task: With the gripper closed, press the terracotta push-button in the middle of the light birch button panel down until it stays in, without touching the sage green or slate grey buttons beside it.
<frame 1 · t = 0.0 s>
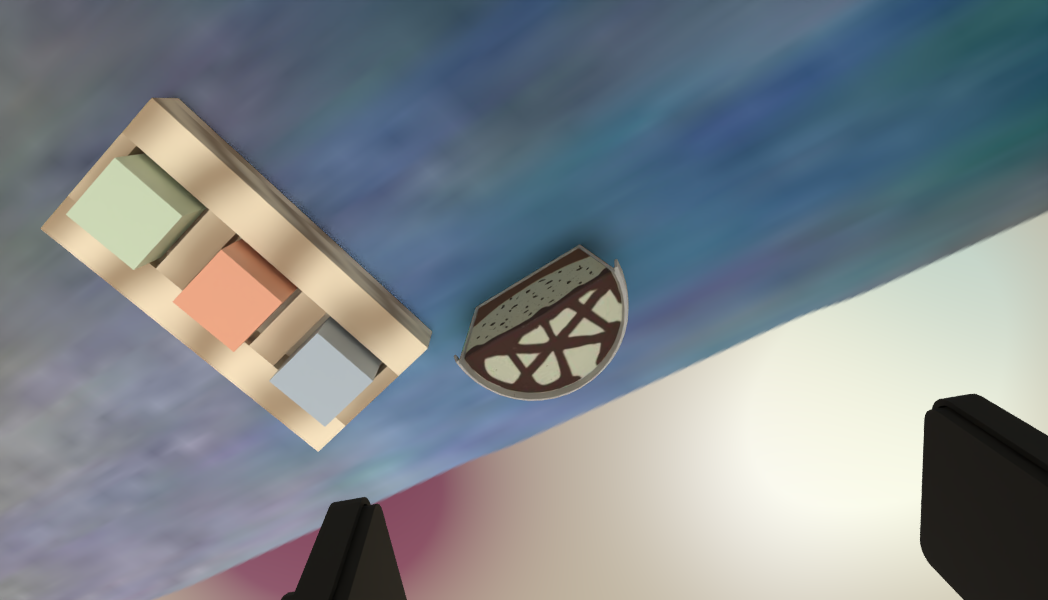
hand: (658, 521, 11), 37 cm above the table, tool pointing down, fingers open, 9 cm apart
terracotta button: (237, 294, 43), point 4 cm above the table, slide at 0.0 cm
sage button: (139, 210, 41), point 4 cm above the table, slide at 0.0 cm
button panel: (260, 277, 47), on the table
slate button: (327, 370, 45), point 4 cm above the table, slide at 0.0 cm
food container: (547, 307, 49), on the table
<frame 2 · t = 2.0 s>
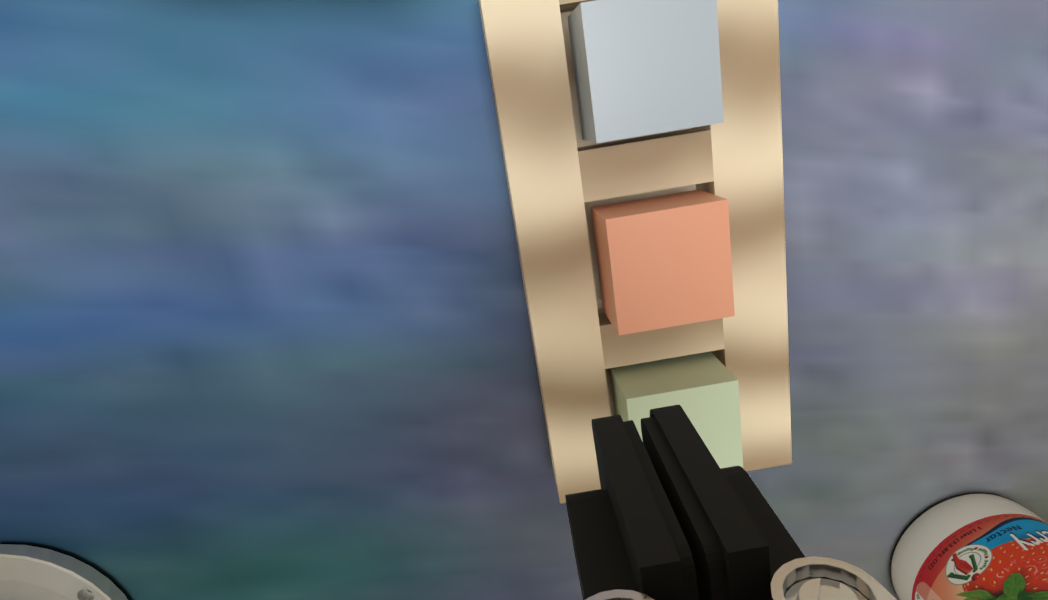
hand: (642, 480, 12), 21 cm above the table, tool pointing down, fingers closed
terracotta button: (660, 259, 27), point 4 cm above the table, slide at 0.0 cm
sage button: (675, 421, 30), point 4 cm above the table, slide at 0.0 cm
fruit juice: (956, 552, 39), on the table
button panel: (636, 240, 32), on the table
slate button: (642, 68, 25), point 4 cm above the table, slide at 0.0 cm
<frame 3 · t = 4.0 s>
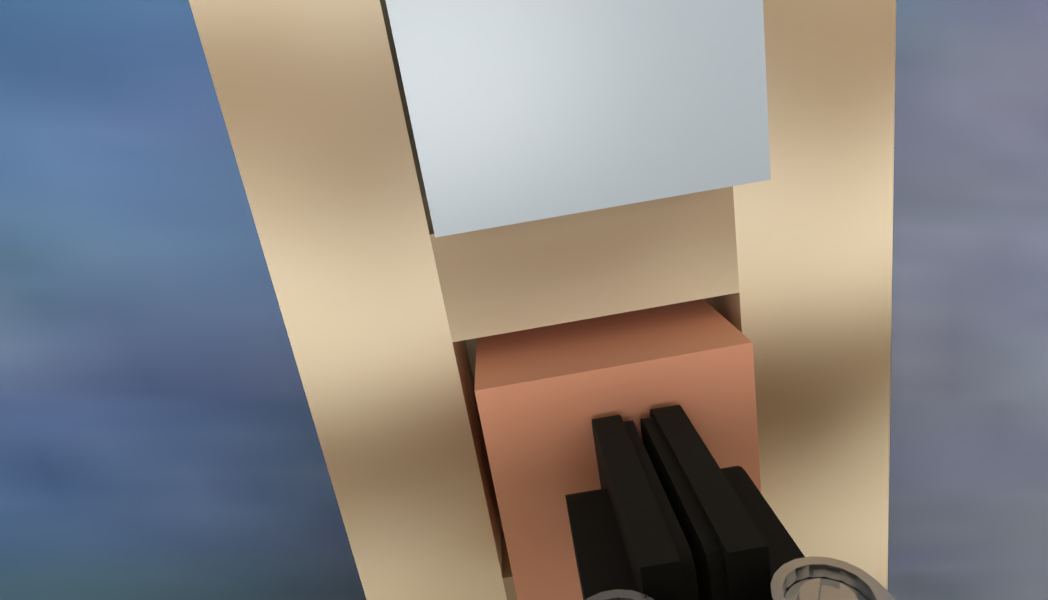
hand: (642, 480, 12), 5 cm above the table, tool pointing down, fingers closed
terracotta button: (611, 440, 13), point 3 cm above the table, slide at 1.0 cm, touching gripper
button panel: (587, 377, 17), on the table
slate button: (564, 39, 10), point 4 cm above the table, slide at 0.0 cm
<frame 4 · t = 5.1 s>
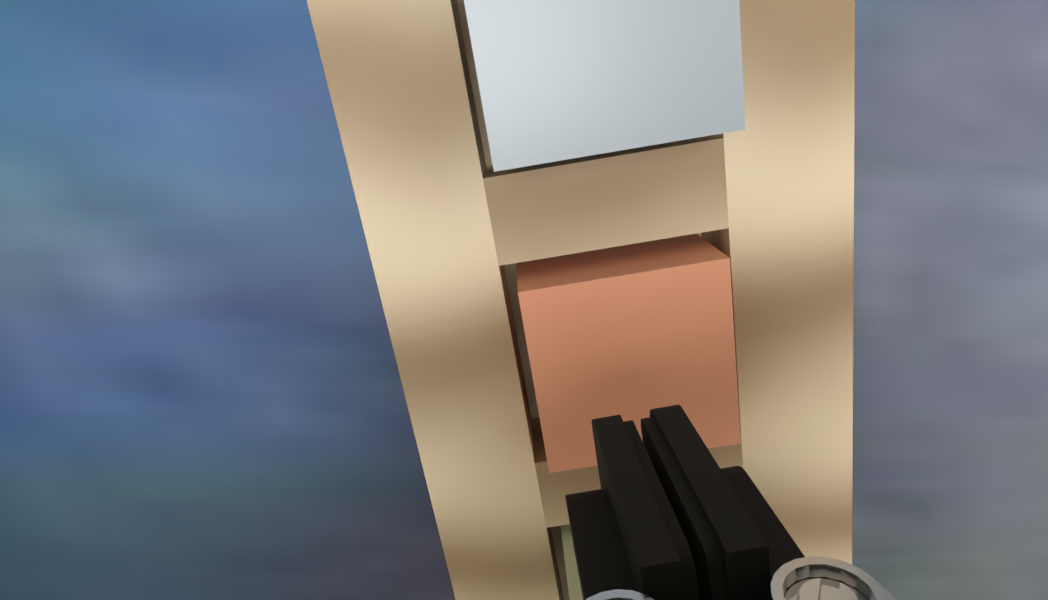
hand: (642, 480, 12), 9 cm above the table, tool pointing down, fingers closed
terracotta button: (622, 344, 17), point 3 cm above the table, slide at 1.4 cm
button panel: (606, 309, 20), on the table
slate button: (591, 23, 13), point 4 cm above the table, slide at 0.0 cm
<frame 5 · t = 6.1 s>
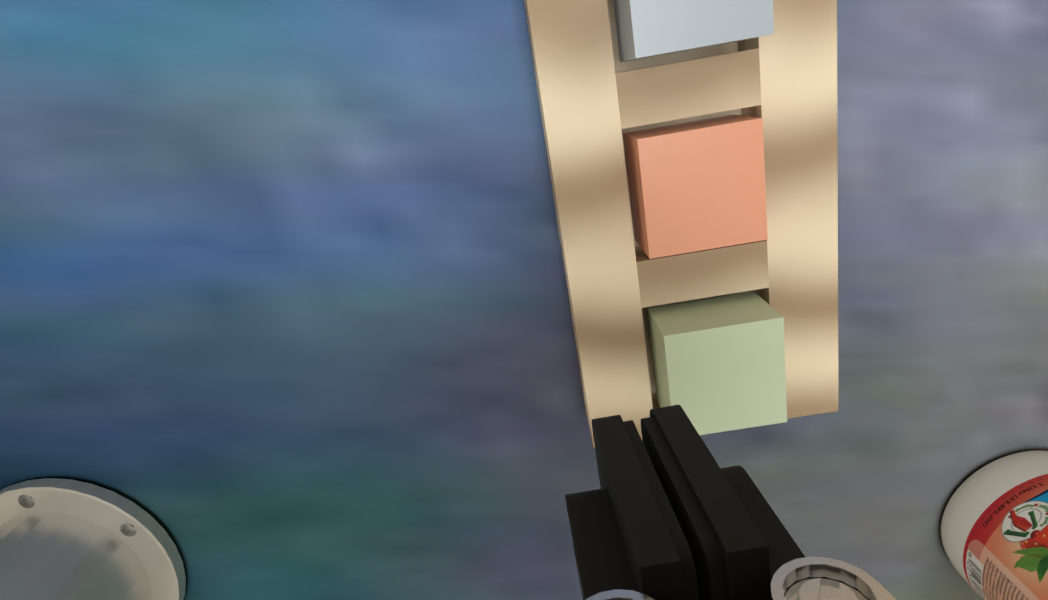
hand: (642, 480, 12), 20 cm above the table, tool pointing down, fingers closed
terracotta button: (692, 184, 27), point 3 cm above the table, slide at 1.4 cm
sage button: (714, 363, 28), point 4 cm above the table, slide at 0.0 cm
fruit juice: (1012, 512, 37), on the table
button panel: (676, 175, 30), on the table
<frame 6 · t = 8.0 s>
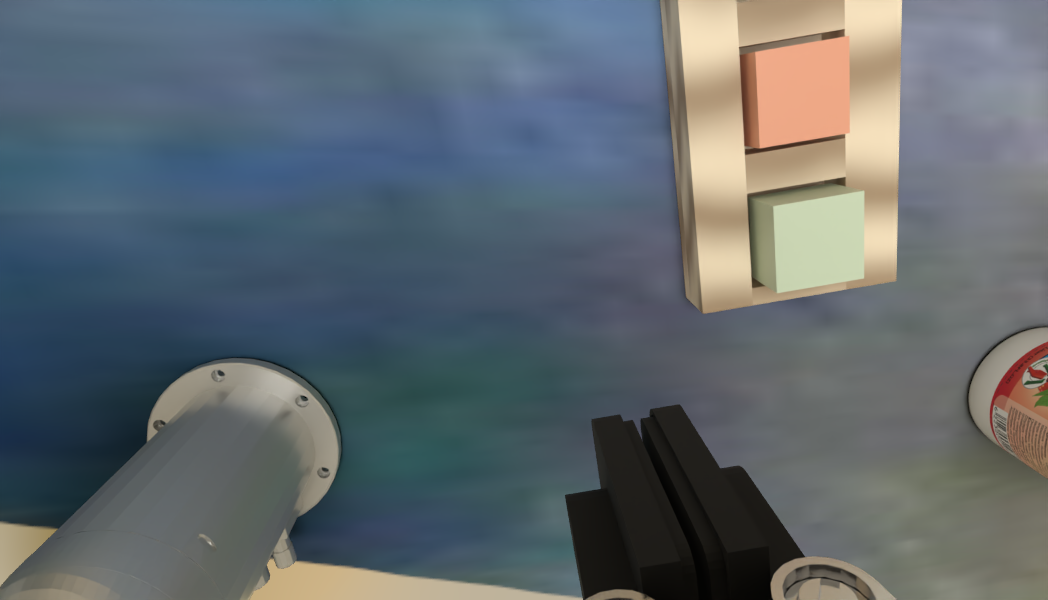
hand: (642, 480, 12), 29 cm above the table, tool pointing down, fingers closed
terracotta button: (788, 93, 35), point 3 cm above the table, slide at 1.4 cm
sage button: (804, 236, 36), point 4 cm above the table, slide at 0.0 cm
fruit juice: (1025, 383, 45), on the table
button panel: (767, 94, 38), on the table
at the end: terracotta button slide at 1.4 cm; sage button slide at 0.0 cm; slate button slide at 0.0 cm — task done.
